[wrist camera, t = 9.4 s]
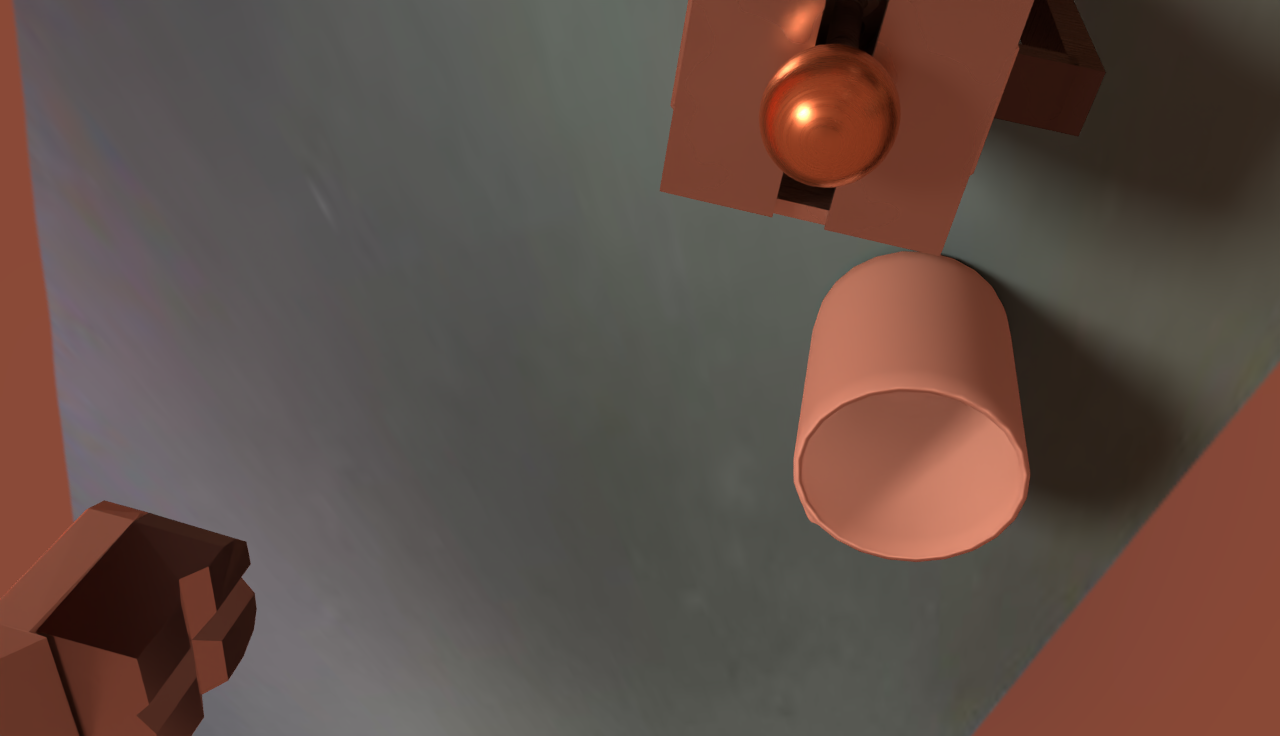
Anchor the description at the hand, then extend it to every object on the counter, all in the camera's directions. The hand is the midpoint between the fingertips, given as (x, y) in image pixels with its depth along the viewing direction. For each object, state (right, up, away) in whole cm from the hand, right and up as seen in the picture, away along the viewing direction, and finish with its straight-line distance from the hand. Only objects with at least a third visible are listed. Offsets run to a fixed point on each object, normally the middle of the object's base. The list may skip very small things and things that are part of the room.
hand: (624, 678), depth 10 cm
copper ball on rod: (+8, +18, +29) cm, 35 cm away
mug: (+13, +4, +42) cm, 45 cm away
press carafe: (+11, +20, +32) cm, 39 cm away
